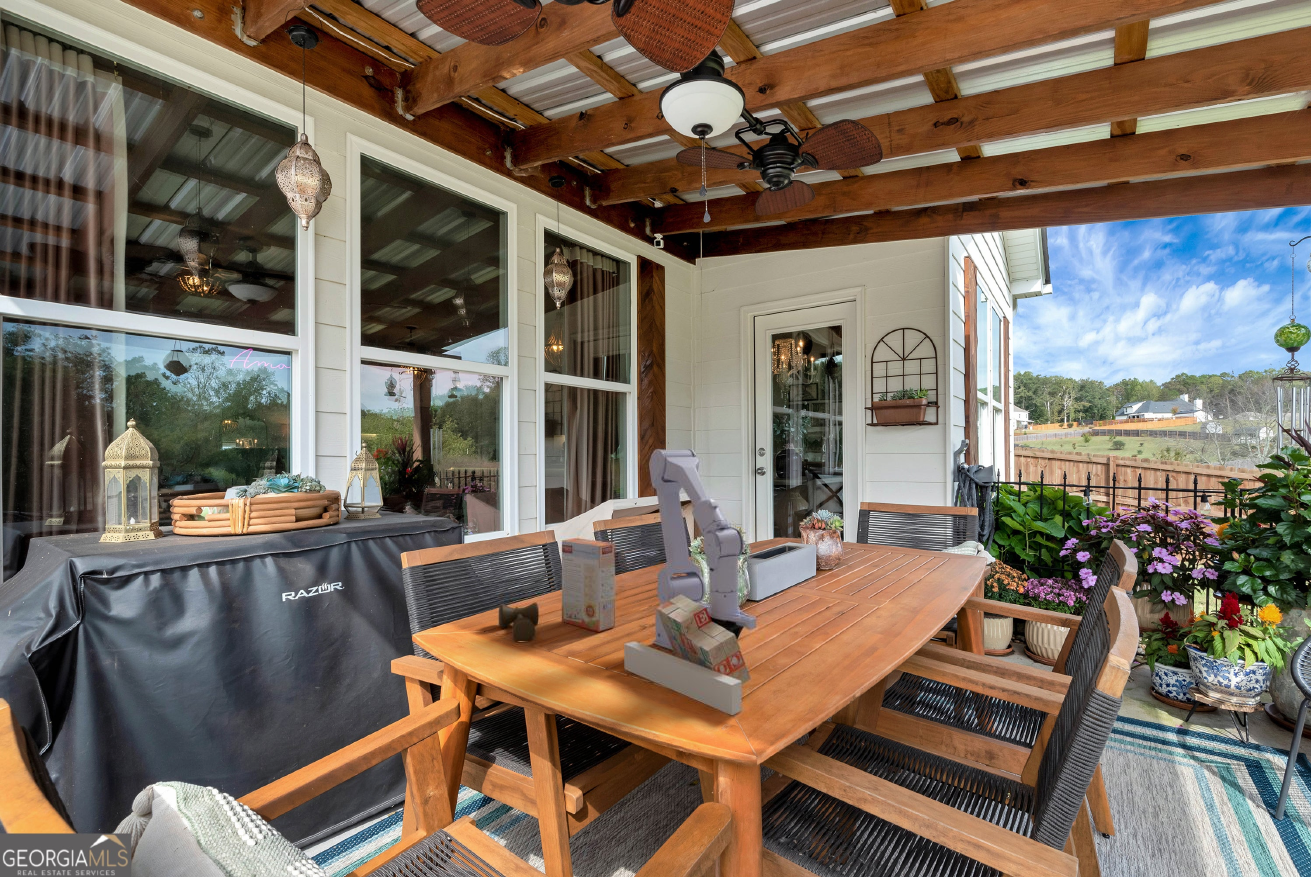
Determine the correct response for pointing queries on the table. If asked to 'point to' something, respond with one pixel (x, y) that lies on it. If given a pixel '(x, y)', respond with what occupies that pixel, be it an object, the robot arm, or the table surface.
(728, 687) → the grey board
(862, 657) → the table surface
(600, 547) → the cracker box
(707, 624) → the stack of blocks
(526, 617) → the kendama
